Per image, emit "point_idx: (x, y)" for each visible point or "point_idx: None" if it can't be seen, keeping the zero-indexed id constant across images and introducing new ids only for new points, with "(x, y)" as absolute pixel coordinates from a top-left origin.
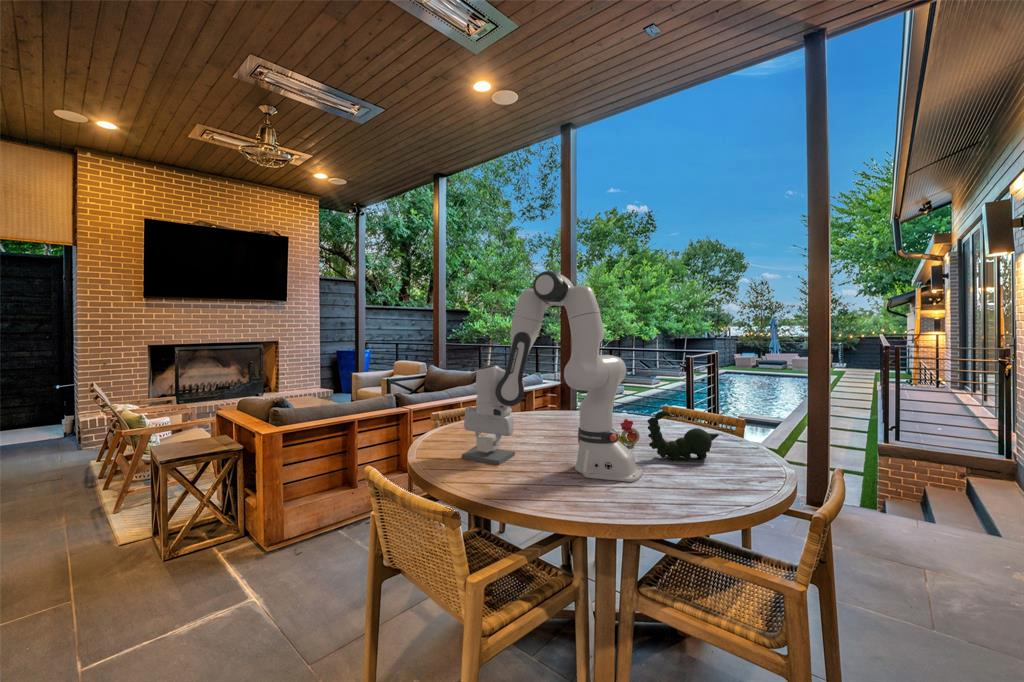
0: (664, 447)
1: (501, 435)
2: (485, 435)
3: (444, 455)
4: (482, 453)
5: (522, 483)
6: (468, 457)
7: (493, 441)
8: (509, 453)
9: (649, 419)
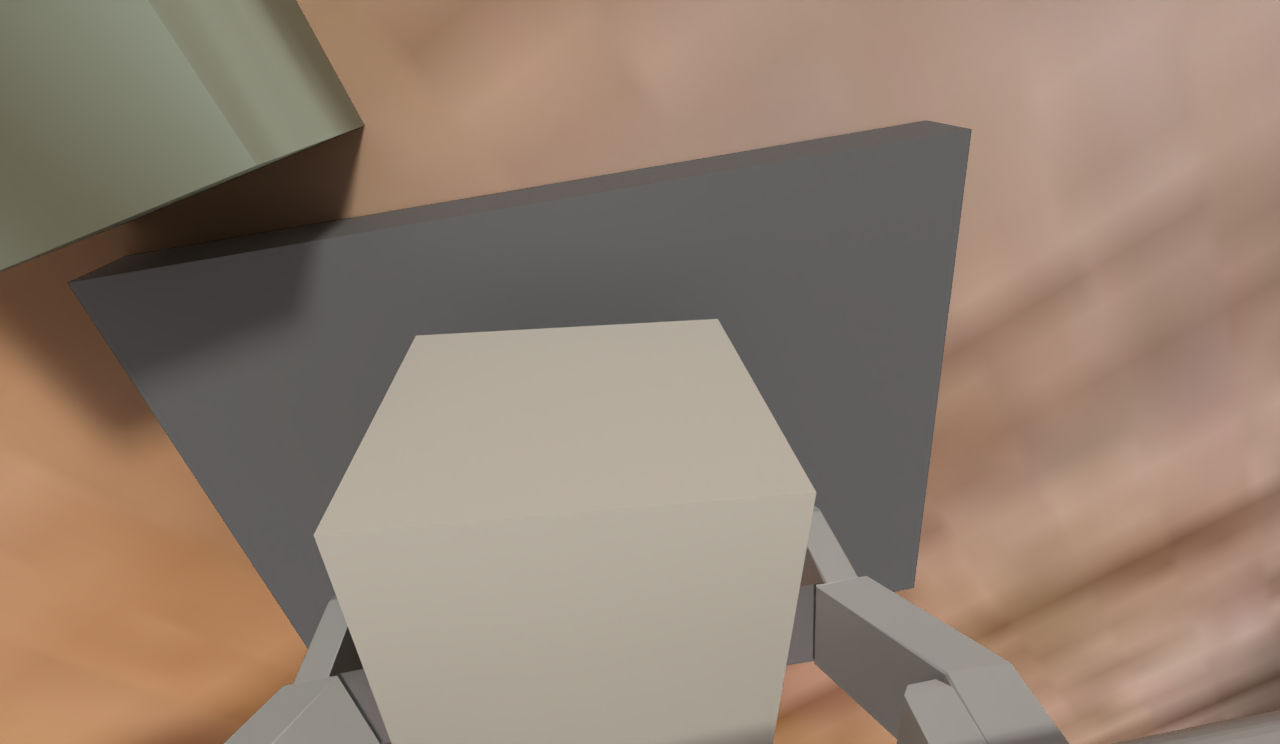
0: None
1: (1027, 692)
2: (410, 717)
3: (77, 696)
4: None
5: (1235, 686)
6: None
7: None
8: (921, 294)
9: None
